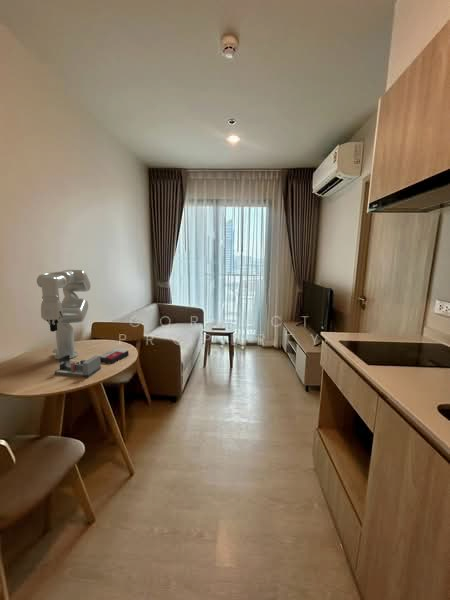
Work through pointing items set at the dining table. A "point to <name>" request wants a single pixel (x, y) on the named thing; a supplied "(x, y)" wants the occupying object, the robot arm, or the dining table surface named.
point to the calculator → (113, 355)
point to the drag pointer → (72, 367)
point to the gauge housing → (82, 368)
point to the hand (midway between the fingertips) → (53, 330)
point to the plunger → (65, 362)
